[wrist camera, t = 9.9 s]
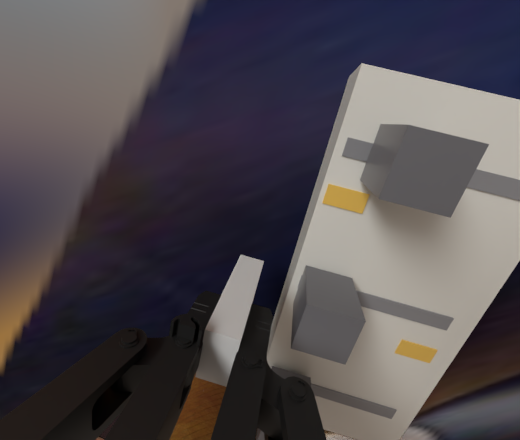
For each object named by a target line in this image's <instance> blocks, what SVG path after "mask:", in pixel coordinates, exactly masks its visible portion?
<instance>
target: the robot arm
mask: <svg viewBox="0 0 520 440" xmlns="http://www.w3.org/2000/svg"><path fill="white" fill-rule="evenodd" d="M263 263H264V261H261V260H258V259H254V258H251V257H247V256H244V255H240V257H239V259H238V261H237V263H236V266H235V268H234V270H233V272H232V274H231V276H230V278H229V280H228V282H227V284H226V287H225V289H224V291H223V293H222V295H219V294H216V293H212V292H209V291H205V292H203V293H201V294H200V295H199V296H198V297H197V299H196V301H195V303H194V304H193V306H192V307H191V309H190V310H189V312H188V314H183V315H179V316H177V317H175V318H174V319H173V320H172V321H171V326H170V333H169V336H167V337H164V338H147V336H146V333H145V332H144V331H143V330H141V329H138V328H126V329H122V330H120V331H119V332H117V333H115V334H114V335H113V336H111V337H110V338H109V339H107V340H106V341H105V342H103V343H102V344H101V345H99V346H98V347H97V348H95V349H94V350H93V351H91V352H90V353H89V354H87V355H86V356H85V357H83V358H82V359H81V360H79V361H78V362H77V363H75V364H74V365H73V366H71V367H70V368H69V369H67V370H66V371H65V372H63V373H62V374H61V375H59V376H58V377H57V378H55V379H54V380H53V381H51V382H50V383H49V384H47V385H46V386H45V387H43V388H42V389H41V390H39V391H38V392H37V393H35V394H34V395H33V396H31V397H30V398H29V399H27V400H26V401H25V402H23V403H22V404H21V405H19V406H18V407H17V408H15V409H14V410H13V411H11V412H10V413H9V414H7V415H6V416H5V417H3V418H2V419H1V420H0V440H96V439H97V438H98V437H99V436H100V434H101V433H102V432H103V431H104V430H105V429H106V428H107V427H108V426H109V425H110V424H111V423H112V422H113V420H114V419H115V418H116V417H117V416H118V415H119V414H120V413H121V414H120V416H119V417H118V419H117V420H116V422H115V424H114V425H113V427H112V428H111V430H110V432H109V433H108V435H107V436H106V438H105V440H170V437H171V435H172V432H173V430H174V428H175V425H176V423H177V421H178V418H179V416H180V413H181V411H182V409H183V406H184V404H185V402H186V399H187V397H188V394H189V392H190V390H191V385H192V381H193V378H194V376H195V374H196V376H195V377H197V378H200V379H203V380H206V381H209V382H213V383H216V384H219V385H222V386H225V387H226V389H225V393H224V396H223V399H222V403H221V406H220V410H219V413H218V416H217V420H216V423H215V426H214V430H213V433H212V437H211V440H255V436H256V430H257V428H258V429H260V430H261V431H262V432H264V438H265V440H326V436H325V433H324V429H323V425H322V421H321V418H320V414H319V410H318V407H317V403H316V399H315V395H314V393H313V390H312V388H311V387H310V385H309V384H308V383H307V382H306V381H304V380H303V379H301V378H298V377H295V376H293V377H287V378H286V379H284V378H282V377H281V376H279V375H277V374H276V373H275V372H274V371H273V370H272V369H271V368H270V366H269V364H268V362H267V350H268V344H269V337H270V331H271V325H272V319H273V316H272V313H271V310H270V309H268V308H265V307H262V306H258V305H255V304H252V302H253V299H254V295H255V292H256V288H257V284H258V281H259V277H260V274H261V270H262V266H263Z"/></svg>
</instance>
